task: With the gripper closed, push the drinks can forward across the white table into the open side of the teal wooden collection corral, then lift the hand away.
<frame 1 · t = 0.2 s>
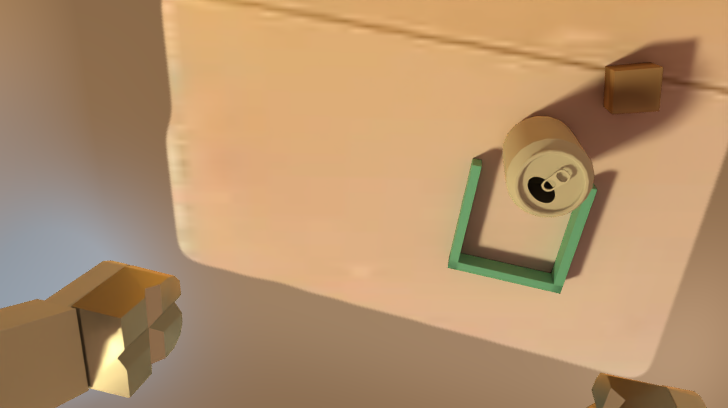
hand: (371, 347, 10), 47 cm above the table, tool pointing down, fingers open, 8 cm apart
walnut block: (625, 84, 49), on the table
corral: (516, 222, 57), on the table
can: (537, 147, 54), on the table
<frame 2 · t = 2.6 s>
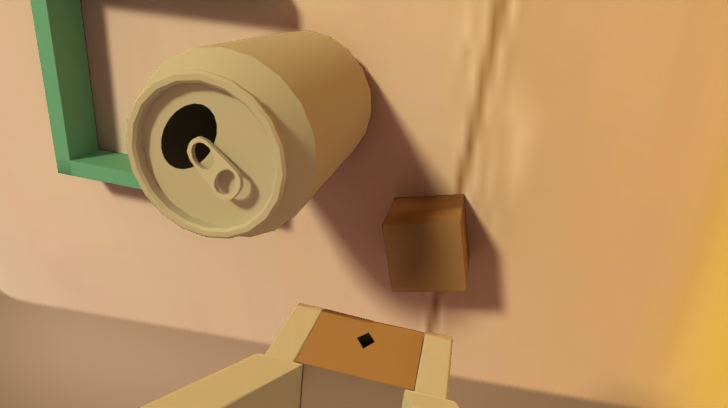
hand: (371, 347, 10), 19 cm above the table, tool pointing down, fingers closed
walnut block: (432, 226, 29), on the table
corral: (168, 76, 30), on the table
can: (312, 98, 28), on the table
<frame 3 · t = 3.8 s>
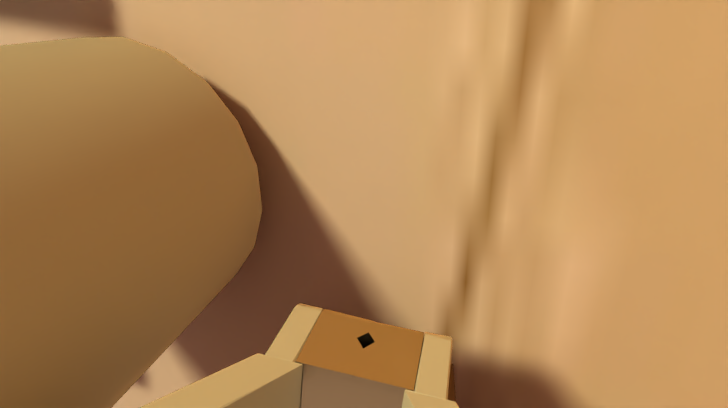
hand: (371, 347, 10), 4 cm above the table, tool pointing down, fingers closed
can: (158, 168, 14), on the table
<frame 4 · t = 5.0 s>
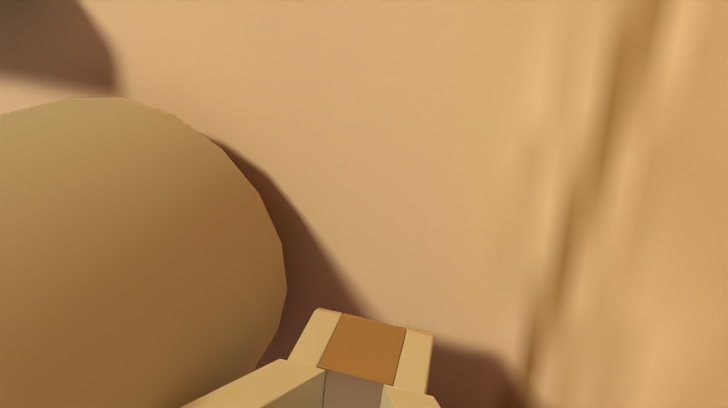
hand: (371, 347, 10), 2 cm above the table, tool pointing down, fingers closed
can: (162, 236, 13), on the table, touching gripper
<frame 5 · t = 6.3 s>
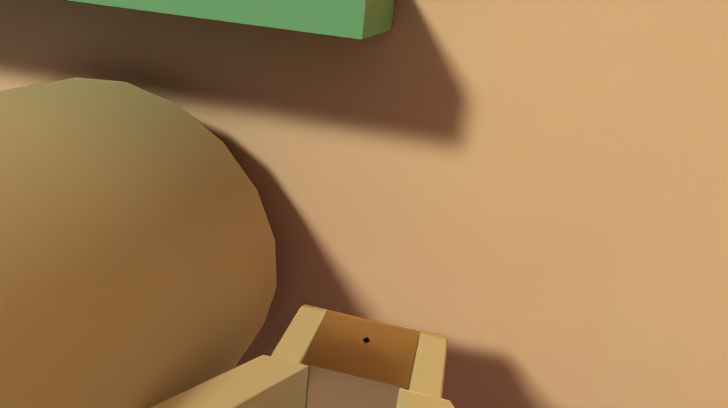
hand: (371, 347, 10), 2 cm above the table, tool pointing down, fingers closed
corral: (113, 224, 13), on the table
can: (154, 222, 12), on the table, touching gripper
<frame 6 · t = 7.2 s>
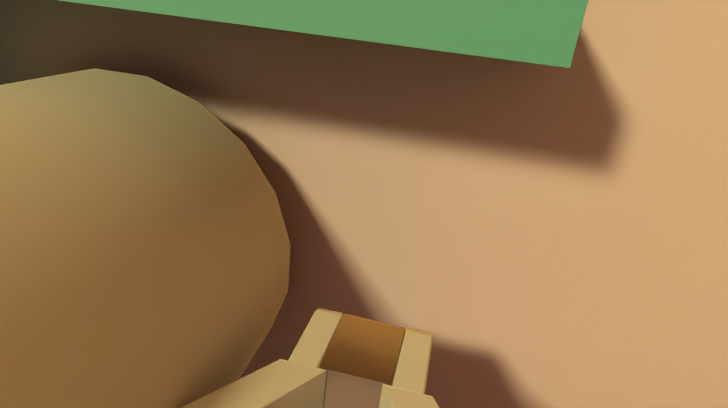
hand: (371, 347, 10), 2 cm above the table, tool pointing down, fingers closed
corral: (215, 248, 12), on the table
can: (163, 217, 12), on the table, touching gripper
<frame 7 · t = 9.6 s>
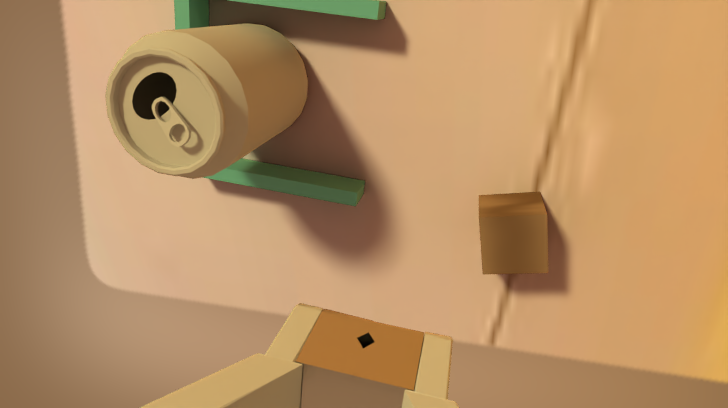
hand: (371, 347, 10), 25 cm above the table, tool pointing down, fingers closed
walnut block: (510, 219, 34), on the table
corral: (282, 90, 34), on the table
can: (261, 79, 35), on the table
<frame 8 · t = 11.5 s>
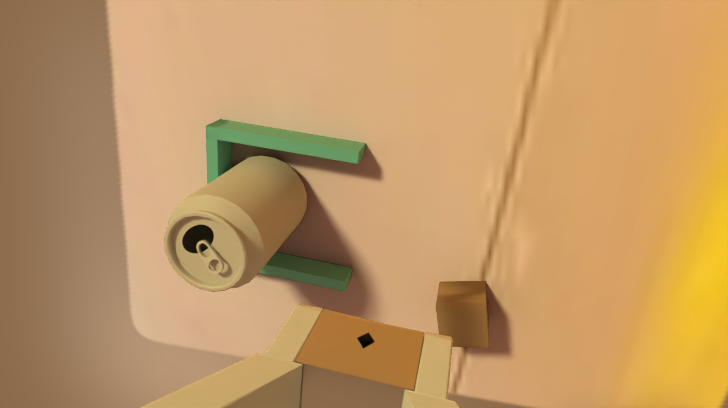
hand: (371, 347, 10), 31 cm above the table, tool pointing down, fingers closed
walnut block: (464, 300, 44), on the table
corral: (288, 201, 44), on the table
can: (271, 191, 45), on the table
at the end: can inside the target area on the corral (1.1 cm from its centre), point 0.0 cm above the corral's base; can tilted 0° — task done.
